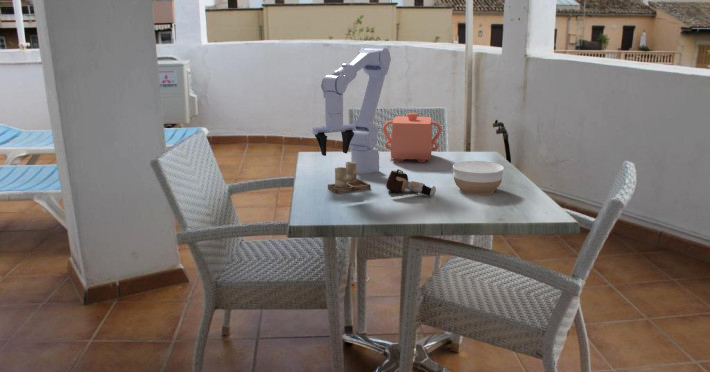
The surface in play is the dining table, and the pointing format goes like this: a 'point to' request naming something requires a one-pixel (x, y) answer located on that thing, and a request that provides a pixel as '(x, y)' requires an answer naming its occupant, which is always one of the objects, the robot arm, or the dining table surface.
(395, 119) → the lidded jar with handles
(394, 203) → the dining table surface
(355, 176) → the beige short cylinder
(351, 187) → the socket board
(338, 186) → the beige rounded cylinder
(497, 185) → the bowl
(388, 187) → the figurine
